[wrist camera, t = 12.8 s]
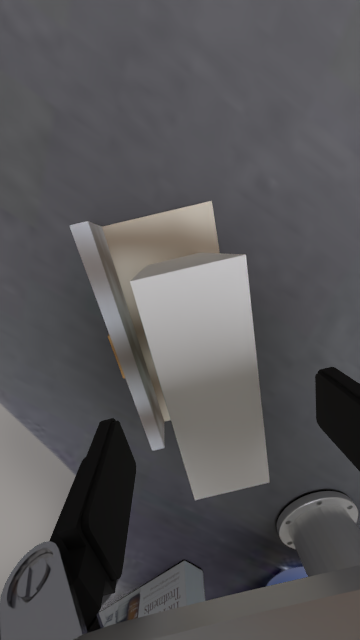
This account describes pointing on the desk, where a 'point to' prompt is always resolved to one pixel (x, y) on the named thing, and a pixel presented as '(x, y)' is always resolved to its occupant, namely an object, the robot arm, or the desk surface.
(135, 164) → the desk surface
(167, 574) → the skincare box
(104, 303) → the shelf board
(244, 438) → the carton
